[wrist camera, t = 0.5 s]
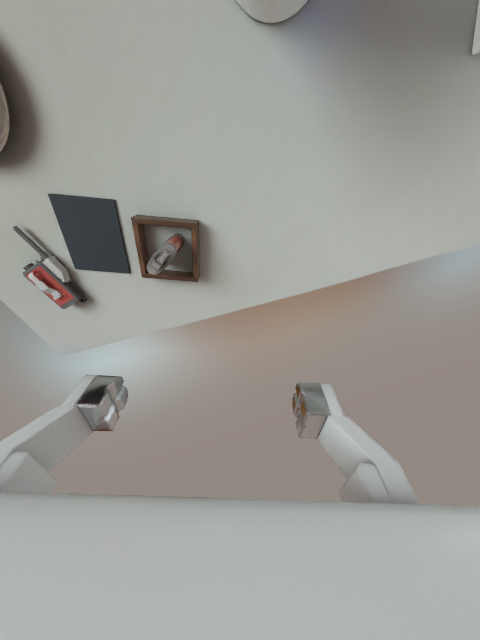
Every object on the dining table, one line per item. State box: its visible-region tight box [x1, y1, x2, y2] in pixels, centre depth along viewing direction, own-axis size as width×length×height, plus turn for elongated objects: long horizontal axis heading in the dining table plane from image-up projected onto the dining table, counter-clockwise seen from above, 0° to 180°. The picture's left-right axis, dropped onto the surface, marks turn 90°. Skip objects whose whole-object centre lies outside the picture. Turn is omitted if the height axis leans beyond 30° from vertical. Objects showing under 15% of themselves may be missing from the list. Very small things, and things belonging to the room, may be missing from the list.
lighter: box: [147, 234, 184, 275], centre depth 47 cm, size 8×3×10 cm, turn 134°
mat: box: [48, 194, 130, 273], centre depth 50 cm, size 16×13×1 cm
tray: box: [131, 215, 200, 282], centre depth 50 cm, size 13×13×3 cm
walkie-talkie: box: [13, 226, 87, 309], centre depth 53 cm, size 9×4×20 cm
